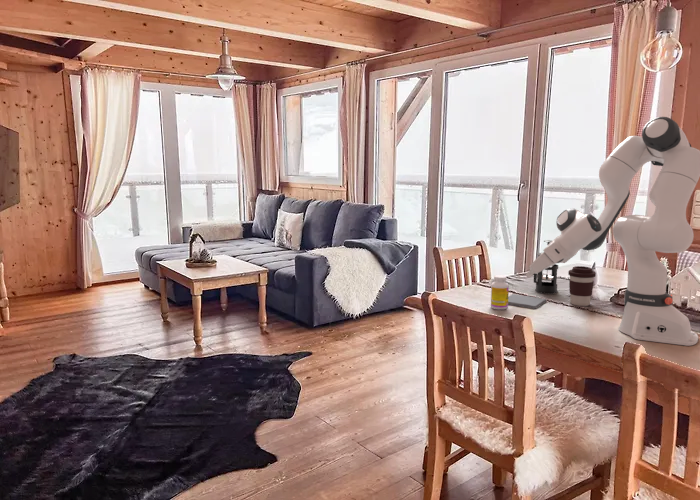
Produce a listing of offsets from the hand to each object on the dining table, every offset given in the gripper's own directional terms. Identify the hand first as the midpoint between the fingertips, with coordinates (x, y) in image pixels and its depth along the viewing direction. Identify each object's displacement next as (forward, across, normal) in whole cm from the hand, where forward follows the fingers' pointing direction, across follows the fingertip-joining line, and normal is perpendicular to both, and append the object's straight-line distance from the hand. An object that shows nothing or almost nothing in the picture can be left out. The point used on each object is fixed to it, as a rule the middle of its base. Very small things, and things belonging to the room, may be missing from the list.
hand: (531, 273), depth 189 cm
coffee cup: (+3, -24, +19) cm, 31 cm away
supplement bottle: (+20, 0, +2) cm, 20 cm away
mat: (+16, -13, +6) cm, 21 cm away
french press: (+15, -37, +6) cm, 40 cm away
